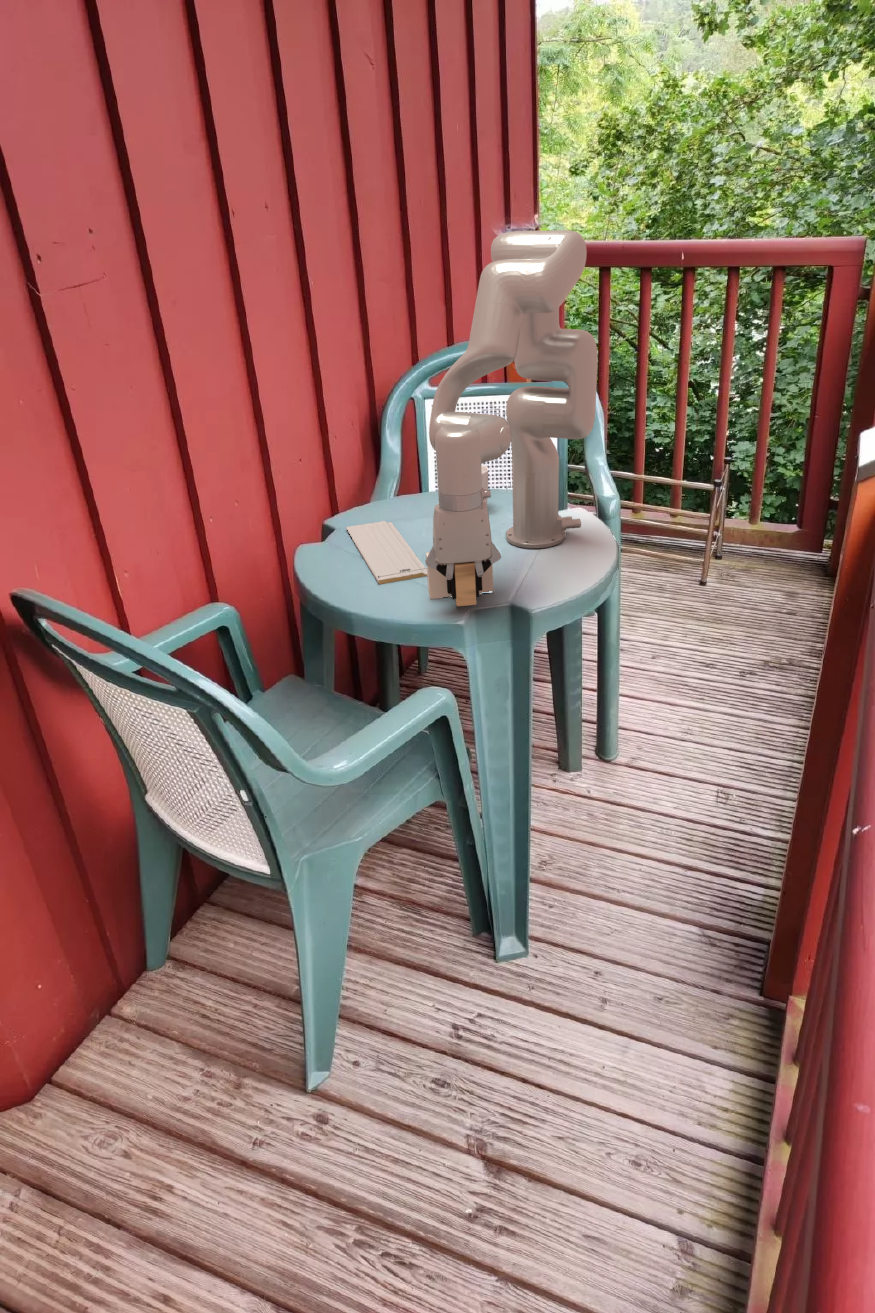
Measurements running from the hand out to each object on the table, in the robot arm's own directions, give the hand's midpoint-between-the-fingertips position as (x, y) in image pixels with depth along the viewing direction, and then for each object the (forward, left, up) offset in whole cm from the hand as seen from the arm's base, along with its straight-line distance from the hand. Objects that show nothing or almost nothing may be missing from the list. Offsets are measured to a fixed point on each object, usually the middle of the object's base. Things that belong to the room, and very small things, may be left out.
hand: (464, 594), depth 163 cm
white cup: (-8, -49, -3) cm, 50 cm away
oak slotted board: (0, -7, -1) cm, 7 cm away
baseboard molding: (+12, -30, -4) cm, 33 cm away
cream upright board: (0, -7, -3) cm, 8 cm away
